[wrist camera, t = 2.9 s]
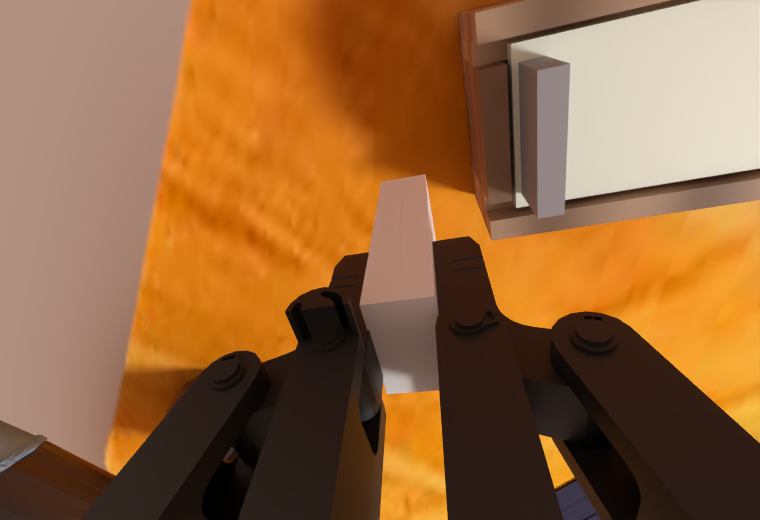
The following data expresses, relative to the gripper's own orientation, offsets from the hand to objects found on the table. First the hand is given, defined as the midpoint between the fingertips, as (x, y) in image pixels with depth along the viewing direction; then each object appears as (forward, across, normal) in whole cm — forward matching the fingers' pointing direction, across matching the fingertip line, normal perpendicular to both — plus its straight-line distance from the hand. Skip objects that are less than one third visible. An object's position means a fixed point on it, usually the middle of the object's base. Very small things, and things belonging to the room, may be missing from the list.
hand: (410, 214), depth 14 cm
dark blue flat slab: (+14, +25, -51) cm, 58 cm away
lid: (+8, +15, 0) cm, 17 cm away
